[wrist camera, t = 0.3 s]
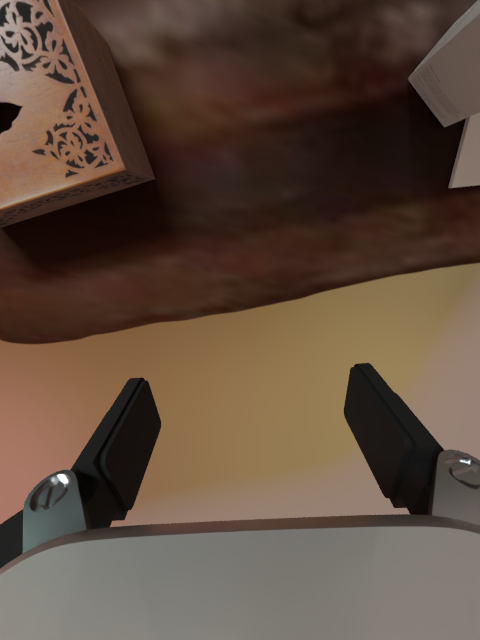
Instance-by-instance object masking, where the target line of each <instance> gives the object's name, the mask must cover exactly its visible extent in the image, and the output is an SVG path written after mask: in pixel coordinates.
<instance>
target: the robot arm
mask: <svg viewBox="0 0 480 640" xmlns="http://www.w3.org/2000/svg"><path fill="white" fill-rule="evenodd" d="M344 415H345V418H346V420H347V423H348V425H349V426H350V428H351V431H352V433H353V434H354V437H355V439H356V441H357V443H358V445H359V447H360V449H361V451H362V453H363V455H364V457H365V459H366V461H367V463H368V465H369V467H370V469H371V471H372V473H373V475H374V477H375V479H376V481H377V483H378V485H379V487H380V489H381V491H382V493H383V495H384V496H385V497H386V498H389V499H390V501H391V503H392V504H393V506H394V508H407V509H408V511H409V513H410V514H411V515H408V514H405V515H404V514H402V515H356V516H330V517H303V518H281V519H280V518H279V519H256V520H234V521H211V522H191V523H171V524H150V525H137V526H122V527H110V525H111V522H112V521H114V520H124V519H125V517H126V514H127V512H128V510H131V509H132V507H133V505H134V502H135V500H136V496H137V494H138V491H139V488H140V485H141V483H142V480H143V477H144V474H145V471H146V468H147V466H148V463H149V460H150V457H151V454H152V451H153V448H154V446H155V443H156V440H157V437H158V434H159V432H160V428H161V420H160V417H159V414H158V411H157V407H156V405H155V401H154V398H153V395H152V392H151V389H150V386H149V383H148V381H145V380H144V378H131V379H129V380H128V381H127V383H126V385H125V386H124V388H123V389H122V391H121V393H120V394H119V396H118V397H117V399H116V400H115V402H114V404H113V405H112V407H111V408H110V410H109V411H108V412H107V413H106V415H105V416H104V418H103V419H102V421H101V423H100V424H99V426H98V427H97V429H96V431H95V432H94V434H93V435H92V437H91V438H90V440H89V442H88V443H87V445H86V446H85V448H84V449H83V451H82V452H81V454H80V456H79V457H78V459H77V460H76V462H75V464H74V465H73V467H72V468H71V470H61V471H57V472H55V473H53V474H51V475H49V476H47V477H46V478H45V479H43V480H42V481H41V482H39V483H38V484H37V485H36V486H35V487H34V488H33V490H32V491H31V492H30V493H29V495H28V496H27V498H26V500H25V502H24V507H23V510H21V511H20V512H18V513H17V514H15V515H14V516H12V517H11V518H9V519H8V520H6V521H5V522H3V523H2V524H0V640H480V460H478V459H477V458H475V457H473V456H471V455H469V454H467V453H464V452H460V451H456V450H444V449H443V448H442V447H441V446H440V445H439V443H438V442H437V441H436V440H435V439H434V437H433V436H432V435H431V434H430V433H429V431H428V430H427V429H426V428H425V427H424V425H423V424H422V423H421V422H420V421H419V420H418V418H417V417H416V416H415V415H414V414H413V412H412V411H411V410H410V409H409V407H408V406H407V405H406V404H405V403H404V401H403V400H402V399H401V398H400V397H399V396H398V395H397V394H396V393H394V392H393V391H392V390H391V388H390V387H389V386H388V385H387V383H386V382H385V381H384V380H383V378H382V377H381V376H380V375H379V374H378V372H377V371H376V370H375V369H374V368H373V366H372V365H371V364H369V363H362V364H355V365H354V367H352V368H351V369H350V375H349V381H348V387H347V394H346V400H345V406H344Z"/></svg>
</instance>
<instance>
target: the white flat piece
mask: <svg viewBox="0 0 480 640" xmlns="http://www.w3.org/2000/svg"><path fill="white" fill-rule="evenodd" d="M476 185H480V112H479V113H477V114H474V115H472V116H470V117H467V118H466V121H465V124H464V128H463V132H462V136H461V140H460V144H459V148H458V152H457V155H456V159H455V163H454V167H453V171H452V175H451V179H450V183H449V187H448V188H456V187H466V186H476Z"/></svg>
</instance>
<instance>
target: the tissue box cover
mask: <svg viewBox="0 0 480 640" xmlns="http://www.w3.org/2000/svg"><path fill="white" fill-rule="evenodd" d="M154 179H155V177H154V174H153V171H152V168H151V166H150V163H149V160H148V157H147V155H146V152H145V149H144V146H143V143H142V141H141V138H140V135H139V132H138V130H137V127H136V124H135V121H134V118H133V116H132V113H131V110H130V107H129V105H128V102H127V99H126V96H125V93H124V91H123V88H122V85H121V82H120V80H119V77H118V74H117V71H116V68H115V66H114V63H113V60H112V57H111V55H110V52H109V49H108V46H107V43H106V41H105V39H104V38H103V37H102V36H101V34H100V33H99V32H98V31H97V30H96V28H95V27H94V26H93V25H92V23H91V22H90V21H89V20H88V18H87V17H86V16H85V15H84V13H83V12H82V11H81V10H80V9H79V7H78V6H77V5H76V4H75V2H74V1H73V0H0V228H2V227H5V226H8V225H11V224H14V223H17V222H21V221H24V220H27V219H30V218H33V217H36V216H40V215H43V214H46V213H49V212H52V211H55V210H59V209H62V208H65V207H68V206H71V205H74V204H78V203H81V202H84V201H87V200H90V199H93V198H97V197H100V196H103V195H106V194H109V193H112V192H116V191H119V190H122V189H125V188H128V187H131V186H135V185H138V184H141V183H144V182H147V181H150V180H154Z"/></svg>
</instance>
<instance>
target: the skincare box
mask: <svg viewBox="0 0 480 640" xmlns="http://www.w3.org/2000/svg"><path fill="white" fill-rule="evenodd" d="M408 80H409V82H410V83H411V84H412V86H413V87H414V88H415V90H416V91H417V92H418V94H419V95H420V96H421V98H422V99H423V100H424V102H425V103H426V104H427V106H428V107H429V108H430V110H431V111H432V112H433V114H434V115H435V116H436V117H437V119H438V120H439V122H440V123H441V124H442V125H443V127H447V126H449V125H452V124H454V123H456V122H458V121H461V120H463V119H465V118H467V117H470V116H472V115H474V114H477V113H479V112H480V0H478V1H477V2H476V3H475V4H474V5H473V6H472V7H471V8H469V9H468V10H467V11H466V12H465V13H464V14H463V15H462V16H461V17H460V18H459V19H458V20H457V21H456V22H455V23H454V24H453V25H452V26H451V27H450V29H449V30H448V31H447V32H446V33H445V34H444V36H443V37H442V38H441V39H440V40H439V41H438V43H437V44H436V45H435V46H434V47H433V49H432V50H431V51H430V52H429V53H428V55H427V56H426V57H425V58H424V59H423V61H422V62H421V63H420V64H419V65H418V67H417V68H416V69H415V70H414V71H413V72H412V74H411V75H410V76H409V77H408Z"/></svg>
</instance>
